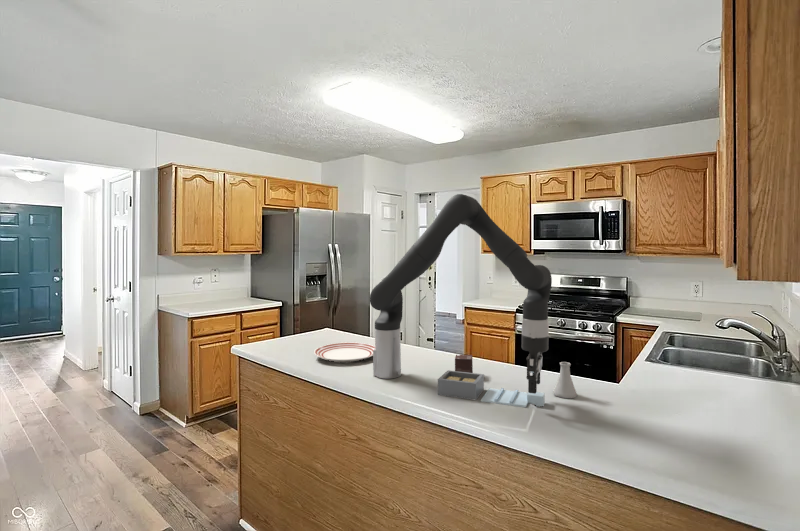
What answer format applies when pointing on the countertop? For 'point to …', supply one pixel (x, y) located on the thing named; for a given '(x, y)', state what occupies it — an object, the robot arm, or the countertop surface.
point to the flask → (565, 383)
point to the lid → (513, 397)
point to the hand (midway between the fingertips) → (534, 388)
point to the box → (463, 363)
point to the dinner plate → (345, 351)
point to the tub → (461, 385)
